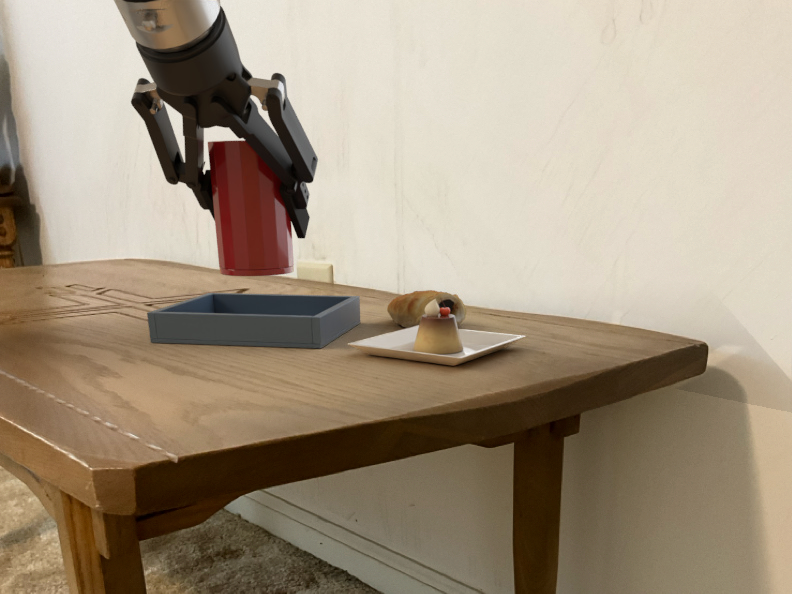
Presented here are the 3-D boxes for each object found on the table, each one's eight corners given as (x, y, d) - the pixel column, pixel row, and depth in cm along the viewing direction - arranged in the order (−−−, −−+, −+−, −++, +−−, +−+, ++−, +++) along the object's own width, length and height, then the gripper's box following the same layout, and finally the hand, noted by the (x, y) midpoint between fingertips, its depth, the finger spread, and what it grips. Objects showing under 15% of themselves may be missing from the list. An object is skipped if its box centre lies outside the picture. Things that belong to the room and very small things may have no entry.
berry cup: (208, 275, 84) (194, 141, 79) (237, 267, 90) (226, 143, 85) (279, 276, 82) (270, 139, 77) (303, 268, 89) (296, 142, 84)
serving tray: (150, 342, 84) (146, 312, 83) (211, 318, 97) (209, 292, 96) (321, 348, 80) (319, 317, 79) (360, 323, 93) (359, 296, 92)
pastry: (372, 321, 94) (371, 286, 92) (420, 316, 98) (420, 281, 96) (423, 333, 87) (424, 295, 86) (473, 327, 91) (474, 290, 89)
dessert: (525, 347, 80) (528, 295, 78) (460, 371, 71) (461, 312, 69) (419, 335, 86) (419, 286, 84) (346, 356, 77) (344, 301, 75)
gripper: (48, 61, 67) (167, 256, 88) (291, 51, 63) (355, 258, 84) (74, -5, 70) (183, 199, 91) (309, -19, 66) (367, 198, 87)
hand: (266, 227), depth 88 cm, fingers closed on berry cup, 7 cm apart
